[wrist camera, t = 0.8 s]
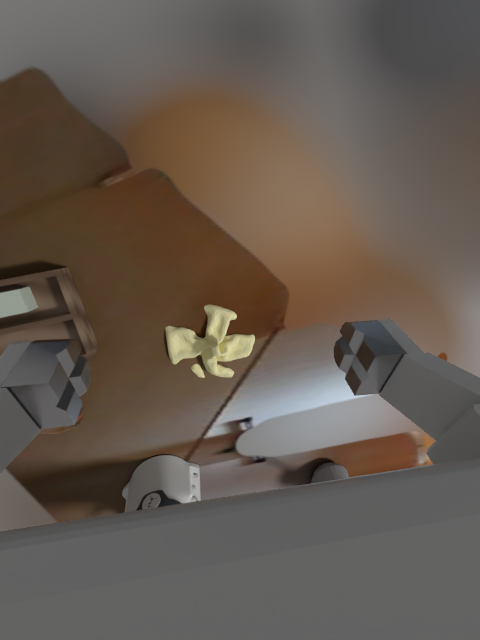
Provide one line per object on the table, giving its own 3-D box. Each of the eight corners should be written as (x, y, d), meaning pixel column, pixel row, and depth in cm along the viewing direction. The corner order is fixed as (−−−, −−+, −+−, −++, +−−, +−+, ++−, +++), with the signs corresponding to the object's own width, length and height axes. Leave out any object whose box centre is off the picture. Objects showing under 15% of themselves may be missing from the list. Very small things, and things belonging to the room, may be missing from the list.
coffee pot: (348, 470, 80) (385, 518, 66) (320, 495, 80) (350, 548, 66) (311, 431, 73) (344, 475, 59) (280, 458, 73) (305, 509, 59)
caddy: (99, 349, 54) (93, 357, 51) (-9, 375, 51) (-24, 386, 47) (68, 267, 49) (59, 268, 45) (-55, 290, 46) (-75, 294, 42)
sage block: (38, 307, 49) (28, 311, 46) (2, 315, 48) (-11, 320, 45) (29, 286, 48) (18, 289, 44) (-8, 293, 47) (-22, 297, 43)
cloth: (148, 341, 57) (145, 352, 51) (214, 285, 57) (218, 289, 51) (215, 404, 65) (218, 419, 59) (272, 354, 65) (282, 365, 59)
